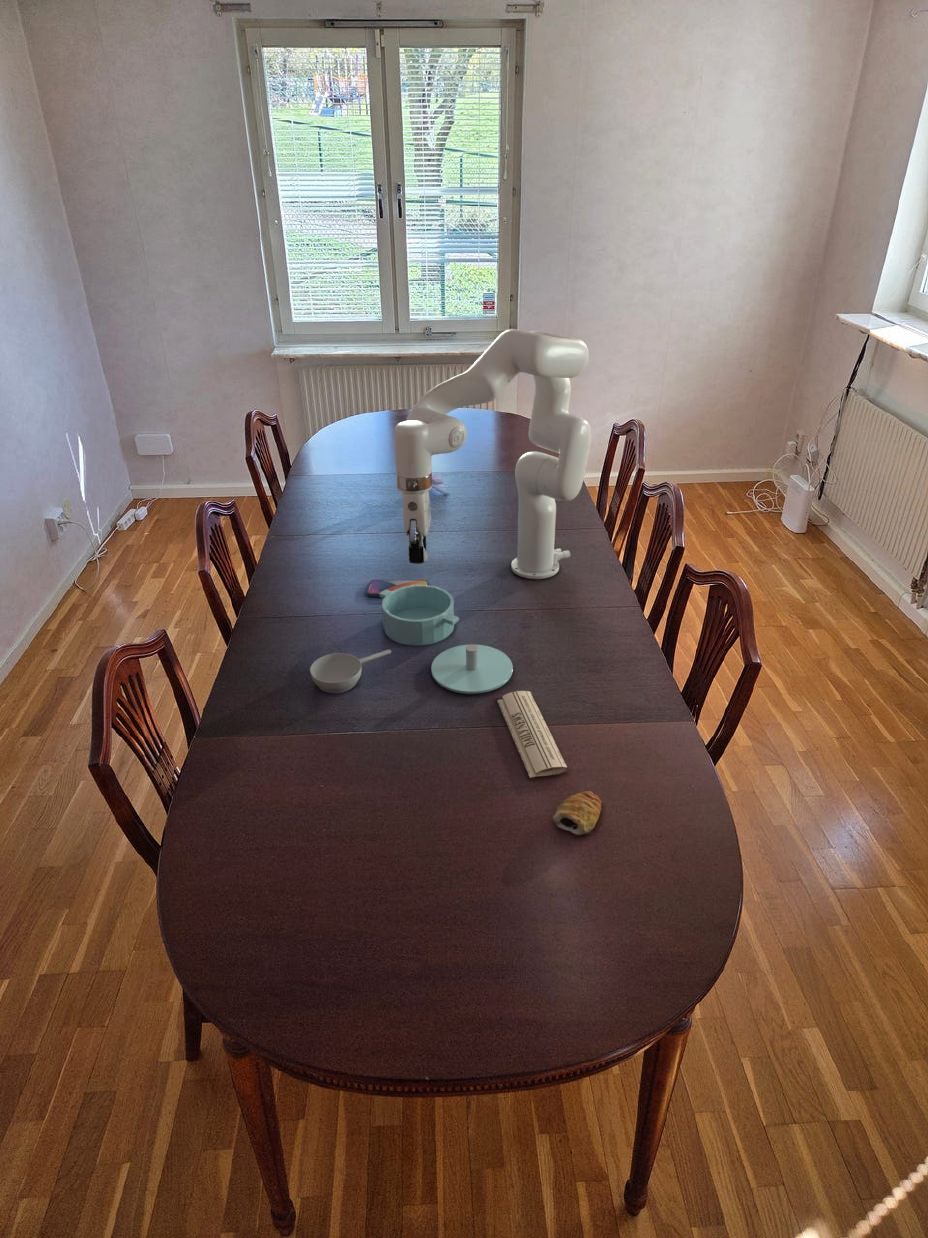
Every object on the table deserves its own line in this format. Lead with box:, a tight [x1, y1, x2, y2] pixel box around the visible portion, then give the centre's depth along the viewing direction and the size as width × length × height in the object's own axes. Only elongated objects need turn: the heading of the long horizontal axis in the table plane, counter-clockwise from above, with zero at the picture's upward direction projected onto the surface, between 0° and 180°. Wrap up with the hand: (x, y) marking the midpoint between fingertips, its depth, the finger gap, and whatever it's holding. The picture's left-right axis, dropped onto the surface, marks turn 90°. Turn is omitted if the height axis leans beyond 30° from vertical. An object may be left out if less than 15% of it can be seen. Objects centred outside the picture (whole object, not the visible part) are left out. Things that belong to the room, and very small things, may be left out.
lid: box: [430, 643, 514, 695], centre depth 175 cm, size 18×18×6 cm
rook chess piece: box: [407, 531, 429, 565], centre depth 181 cm, size 4×4×8 cm
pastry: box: [552, 790, 602, 836], centre depth 139 cm, size 9×7×4 cm
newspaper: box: [496, 690, 568, 779], centre depth 158 cm, size 24×7×2 cm, turn 13°
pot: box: [378, 584, 460, 646], centre depth 191 cm, size 17×22×6 cm
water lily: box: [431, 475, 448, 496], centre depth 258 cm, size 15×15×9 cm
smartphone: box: [366, 579, 429, 597], centre depth 207 cm, size 7×15×1 cm, turn 85°
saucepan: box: [309, 649, 392, 694], centre depth 175 cm, size 11×18×4 cm, turn 118°
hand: (417, 556), depth 183 cm, fingers closed on rook chess piece, 4 cm apart
